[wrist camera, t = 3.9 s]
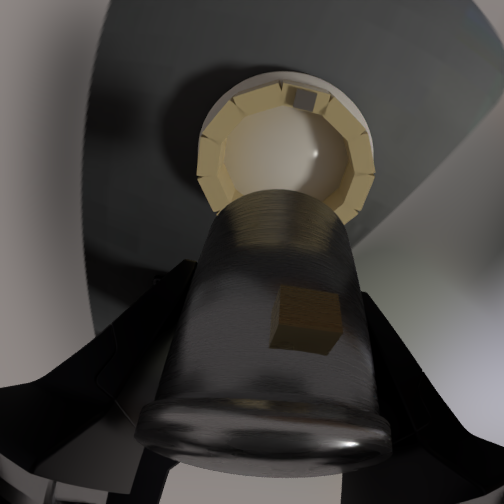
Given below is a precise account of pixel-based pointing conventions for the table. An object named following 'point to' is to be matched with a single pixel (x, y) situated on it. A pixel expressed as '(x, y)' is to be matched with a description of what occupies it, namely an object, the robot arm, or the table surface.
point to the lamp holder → (286, 143)
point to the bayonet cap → (271, 350)
